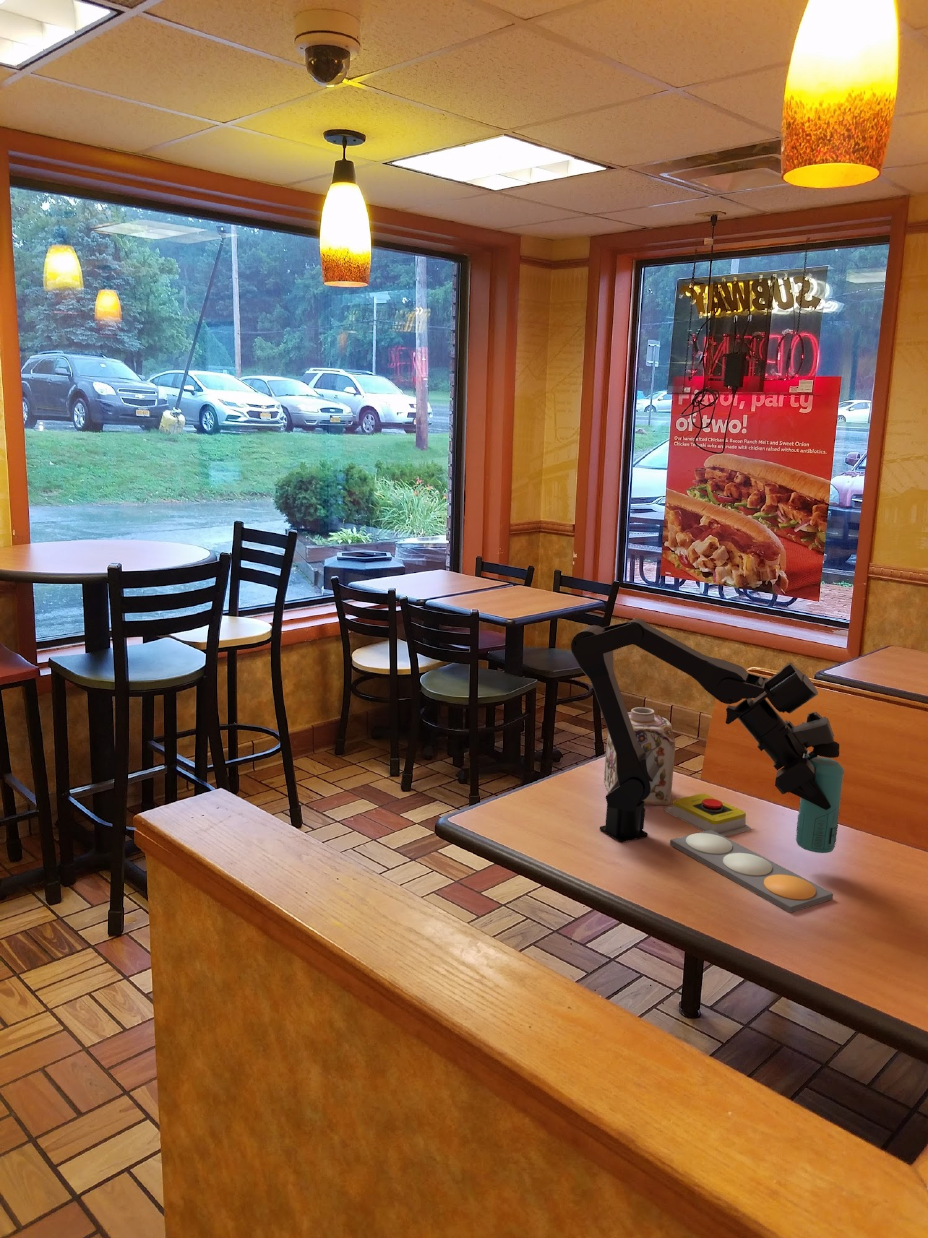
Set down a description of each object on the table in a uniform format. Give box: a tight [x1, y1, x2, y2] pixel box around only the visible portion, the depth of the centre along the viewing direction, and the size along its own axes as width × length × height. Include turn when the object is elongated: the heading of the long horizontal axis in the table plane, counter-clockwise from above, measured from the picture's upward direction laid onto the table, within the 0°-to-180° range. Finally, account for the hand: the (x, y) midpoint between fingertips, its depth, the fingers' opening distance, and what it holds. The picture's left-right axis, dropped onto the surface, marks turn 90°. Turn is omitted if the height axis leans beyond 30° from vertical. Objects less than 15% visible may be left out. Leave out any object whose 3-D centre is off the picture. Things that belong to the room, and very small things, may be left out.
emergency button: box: [663, 793, 752, 838], centre depth 180 cm, size 9×4×15 cm
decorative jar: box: [603, 706, 676, 806], centre depth 190 cm, size 12×12×18 cm
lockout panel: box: [669, 830, 834, 914], centre depth 159 cm, size 10×27×1 cm, turn 30°
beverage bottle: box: [795, 740, 845, 854], centre depth 158 cm, size 6×7×20 cm
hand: (829, 801), depth 158 cm, fingers closed on beverage bottle, 6 cm apart
